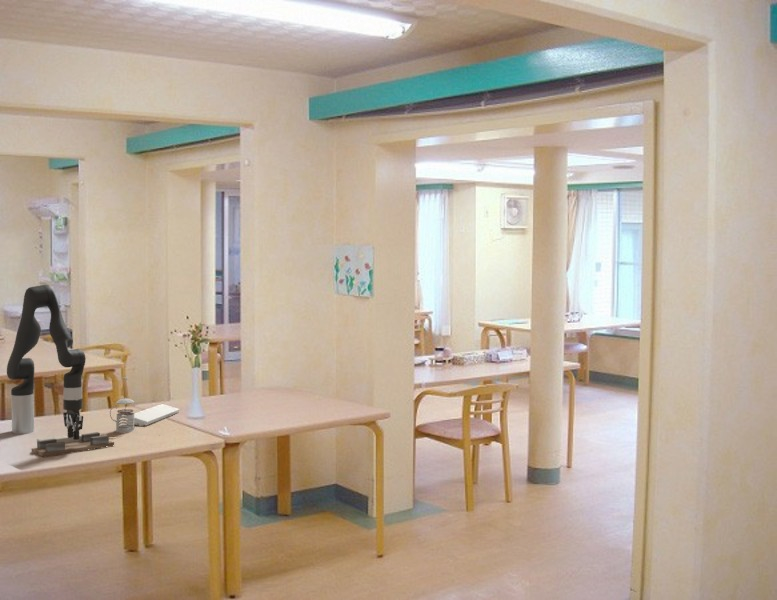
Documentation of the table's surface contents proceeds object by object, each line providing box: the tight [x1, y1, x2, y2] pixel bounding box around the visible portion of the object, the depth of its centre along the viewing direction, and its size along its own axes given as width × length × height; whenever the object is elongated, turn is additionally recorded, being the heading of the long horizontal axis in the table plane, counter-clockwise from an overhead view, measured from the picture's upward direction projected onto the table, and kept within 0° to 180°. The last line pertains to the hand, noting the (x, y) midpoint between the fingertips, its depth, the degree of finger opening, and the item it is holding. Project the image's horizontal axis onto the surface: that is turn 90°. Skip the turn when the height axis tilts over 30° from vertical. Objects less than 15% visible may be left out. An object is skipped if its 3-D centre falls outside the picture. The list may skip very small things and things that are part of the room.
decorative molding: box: [127, 403, 180, 427], centre depth 432 cm, size 34×5×10 cm
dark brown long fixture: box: [31, 431, 115, 458], centre depth 369 cm, size 12×30×4 cm, turn 135°
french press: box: [109, 376, 136, 434], centre depth 404 cm, size 10×12×25 cm
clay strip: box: [36, 432, 83, 443], centre depth 376 cm, size 4×18×6 cm
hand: (73, 438), depth 369 cm, fingers open, 5 cm apart
